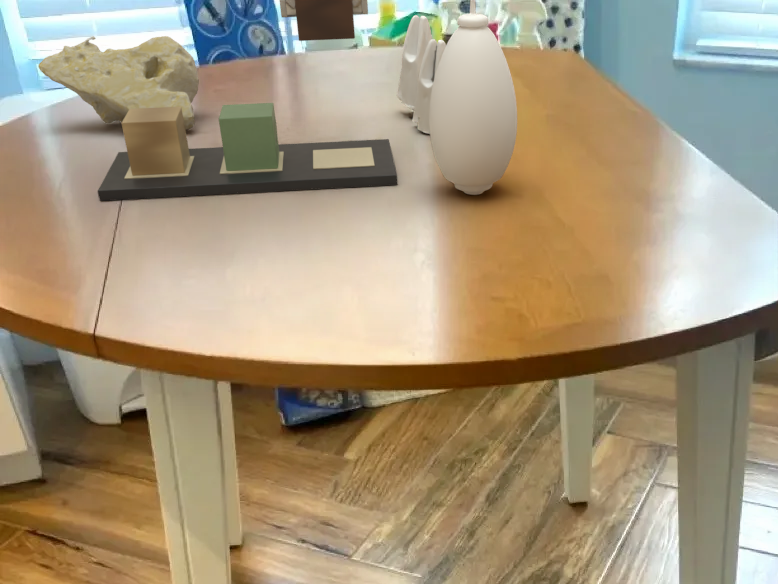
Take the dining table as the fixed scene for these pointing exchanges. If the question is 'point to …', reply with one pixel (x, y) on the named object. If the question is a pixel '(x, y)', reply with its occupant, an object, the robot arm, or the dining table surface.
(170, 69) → the beige rock
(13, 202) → the dining table surface
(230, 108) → the green block
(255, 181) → the word board
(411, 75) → the shaker set
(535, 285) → the dining table surface
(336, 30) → the walnut block
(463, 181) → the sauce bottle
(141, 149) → the maple block
